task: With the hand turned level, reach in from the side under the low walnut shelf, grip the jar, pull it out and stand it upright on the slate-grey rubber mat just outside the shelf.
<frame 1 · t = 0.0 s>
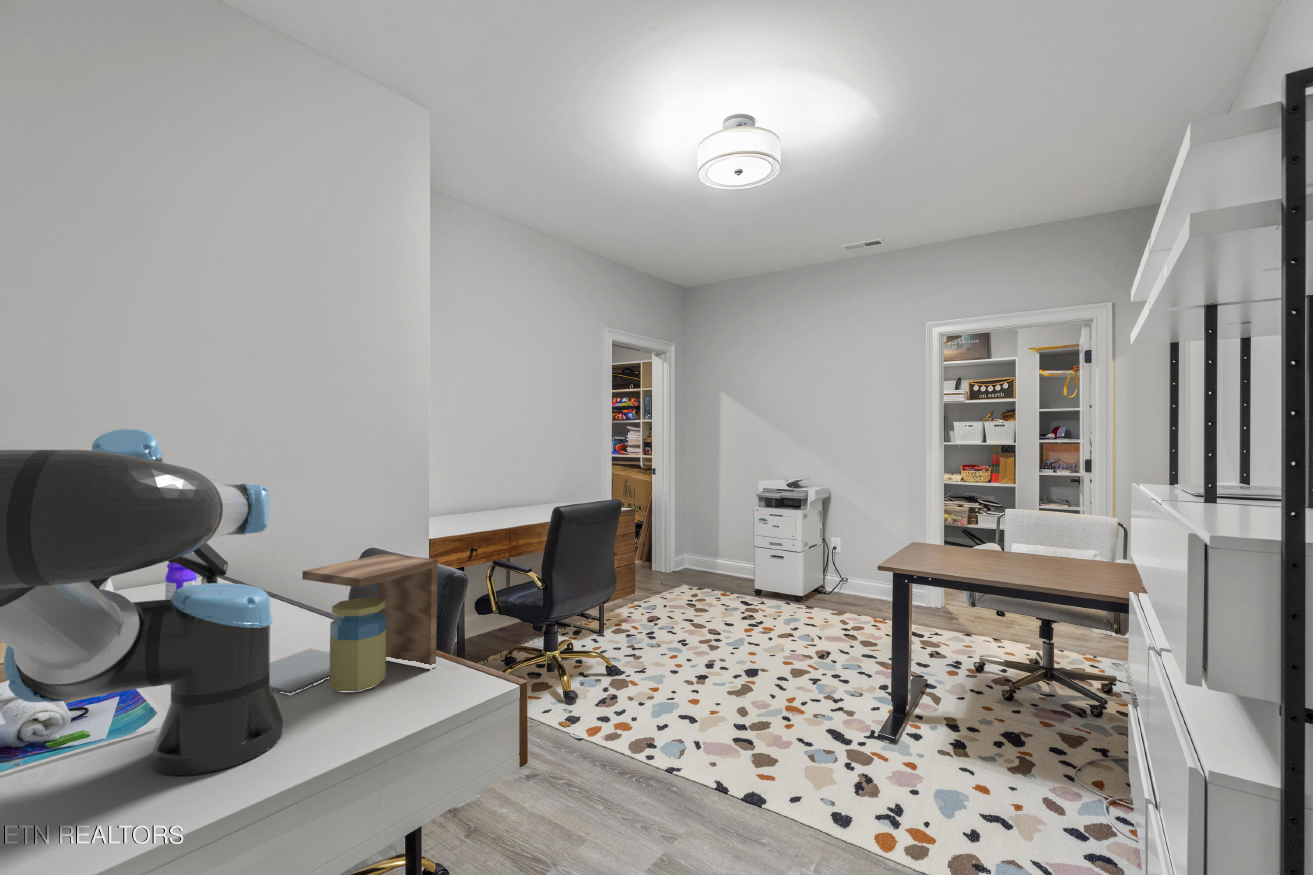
hand: (162, 603, 105), 15 cm above the table, fingers open, 13 cm apart
mat: (301, 671, 113), on the table
bottle: (180, 617, 147), on the table
jar: (357, 686, 107), on the table
shelf: (357, 684, 107), on the table
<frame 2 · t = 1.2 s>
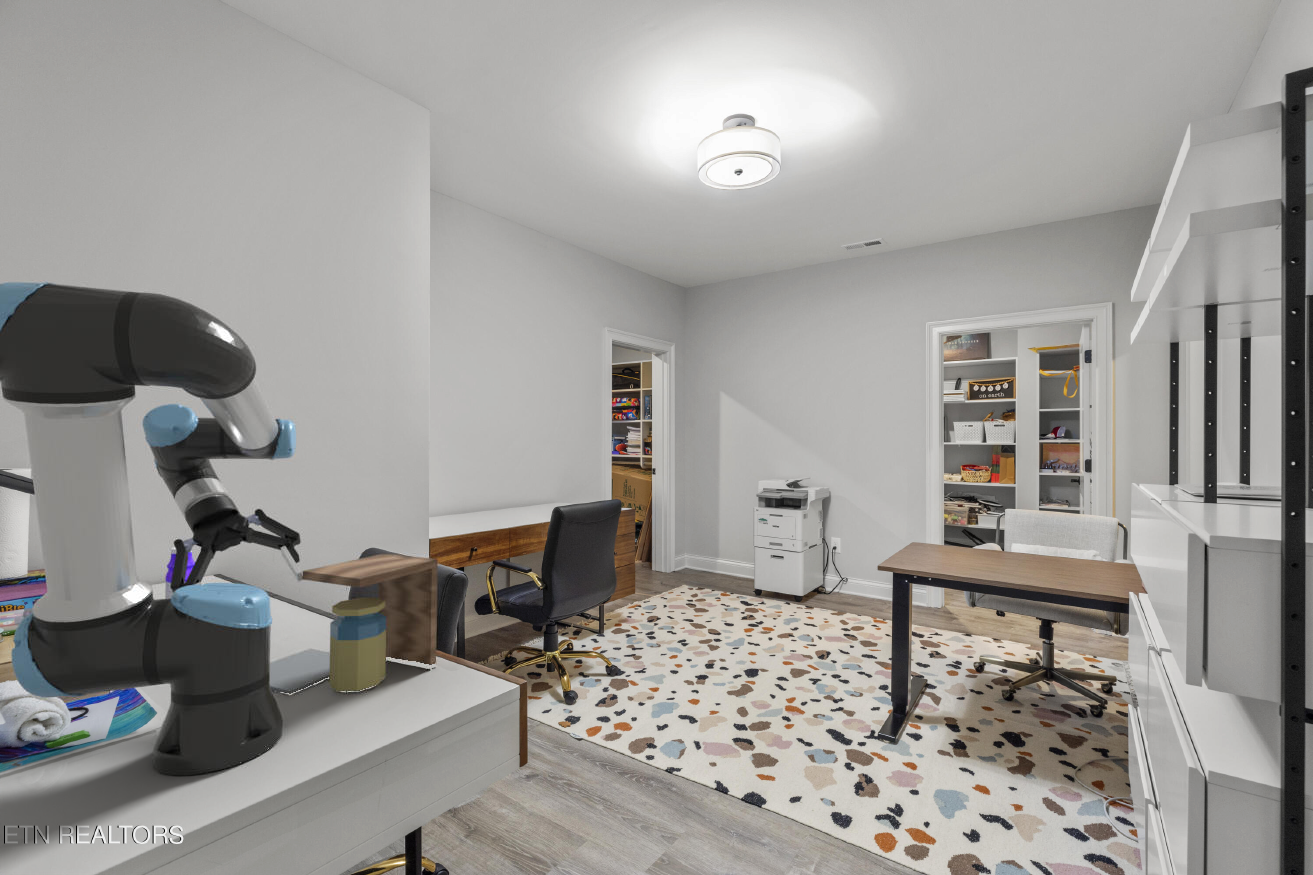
hand: (259, 595, 100), 18 cm above the table, fingers open, 12 cm apart
nothing on the table moved.
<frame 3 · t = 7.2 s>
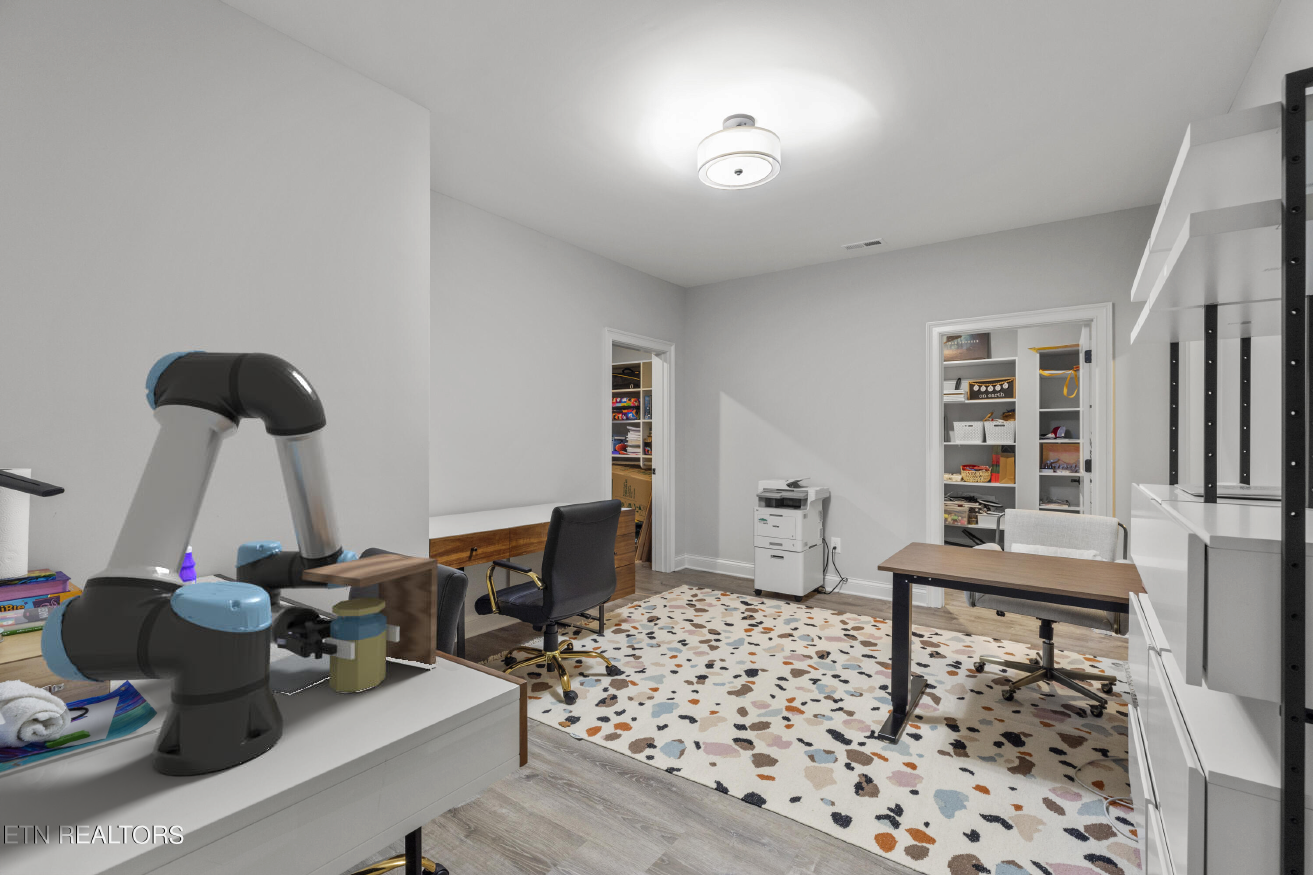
hand: (376, 642, 106), 9 cm above the table, fingers closed on jar, 9 cm apart
jar: (357, 686, 107), on the table, touching gripper
everything else where it was.
when the fingers open (10 cm above the table, at t = 12.0 s): jar stays where it is, resting on mat.
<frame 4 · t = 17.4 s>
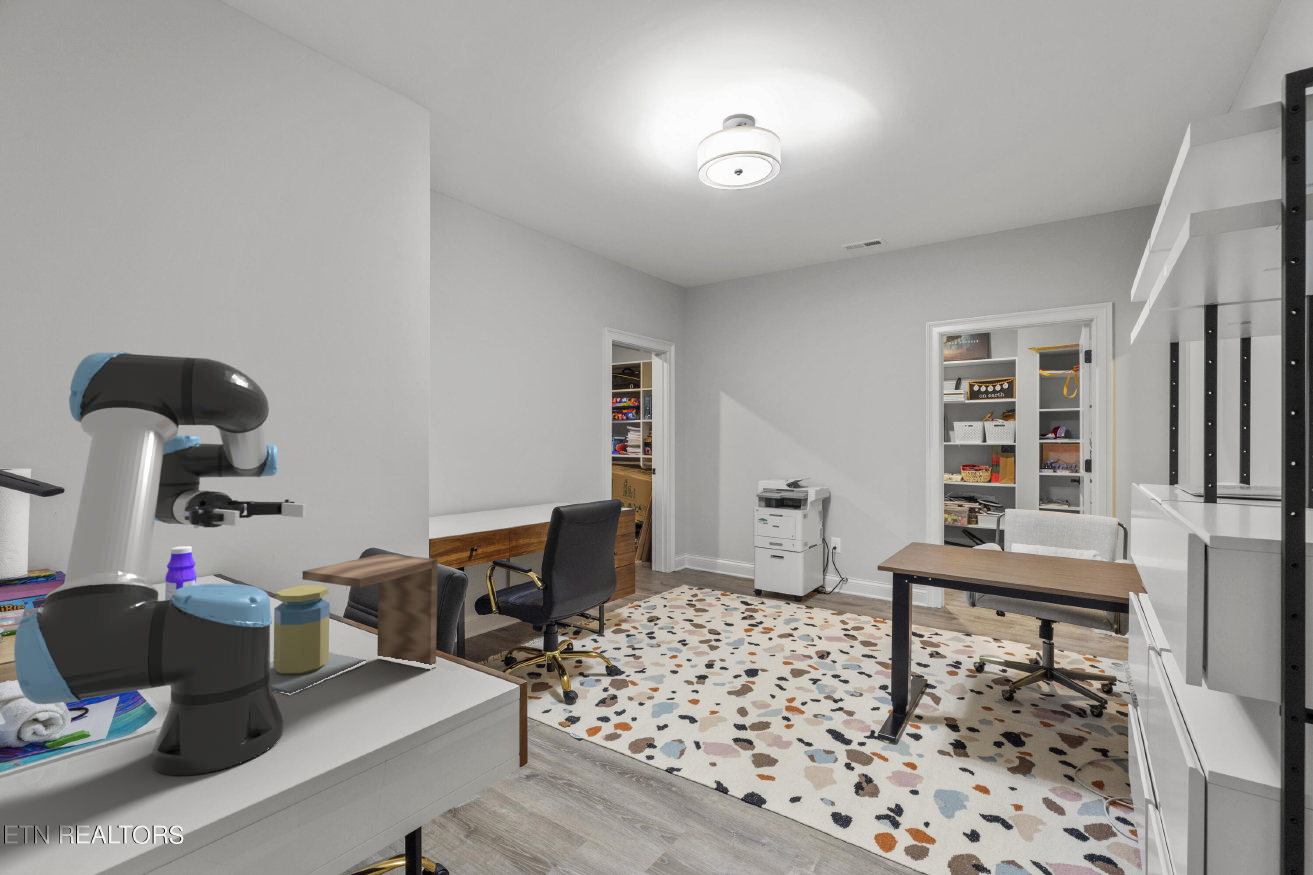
hand: (272, 514, 117), 30 cm above the table, fingers open, 13 cm apart
jar: (301, 668, 113), point 1 cm above the table, touching mat
everything else where it was.
at the end: jar inside the target area on the mat (0.1 cm from its centre), point 0.6 cm above the mat's base; jar tilted 0°; the gripper is holding nothing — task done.
